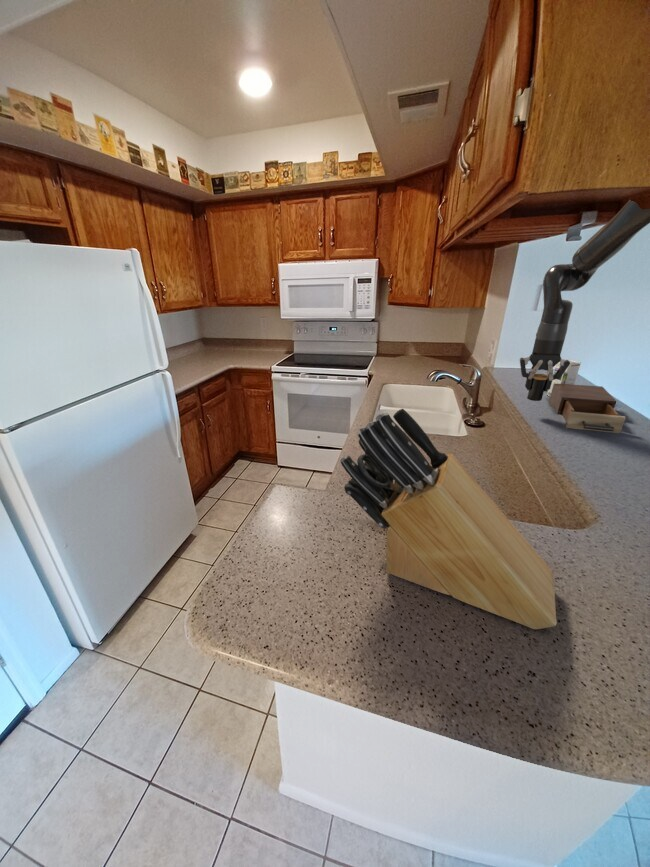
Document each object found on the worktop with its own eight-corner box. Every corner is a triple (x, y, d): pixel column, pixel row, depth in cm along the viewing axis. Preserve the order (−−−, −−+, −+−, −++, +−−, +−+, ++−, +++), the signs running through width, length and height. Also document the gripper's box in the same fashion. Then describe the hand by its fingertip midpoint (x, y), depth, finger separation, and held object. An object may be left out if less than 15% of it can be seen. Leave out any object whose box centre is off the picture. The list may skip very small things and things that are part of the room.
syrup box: (545, 395, 132) (555, 360, 126) (558, 393, 133) (568, 358, 127) (558, 400, 127) (568, 363, 121) (570, 398, 128) (581, 361, 122)
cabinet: (608, 423, 108) (616, 401, 105) (555, 418, 114) (562, 397, 110) (595, 406, 120) (602, 386, 117) (548, 402, 126) (553, 383, 122)
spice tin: (540, 397, 110) (547, 374, 107) (542, 401, 107) (549, 378, 103) (525, 395, 112) (531, 373, 108) (527, 400, 108) (533, 377, 105)
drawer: (623, 441, 96) (631, 423, 93) (568, 435, 100) (574, 418, 98) (604, 417, 110) (610, 401, 107) (557, 413, 115) (561, 397, 112)
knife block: (362, 520, 73) (362, 390, 59) (548, 582, 57) (609, 422, 43) (340, 556, 65) (333, 413, 51) (551, 640, 49) (627, 464, 34)
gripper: (525, 338, 100) (513, 392, 107) (581, 340, 94) (564, 395, 102) (522, 334, 106) (511, 384, 114) (575, 335, 101) (559, 388, 108)
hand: (536, 389), depth 108 cm, fingers closed on spice tin, 4 cm apart
